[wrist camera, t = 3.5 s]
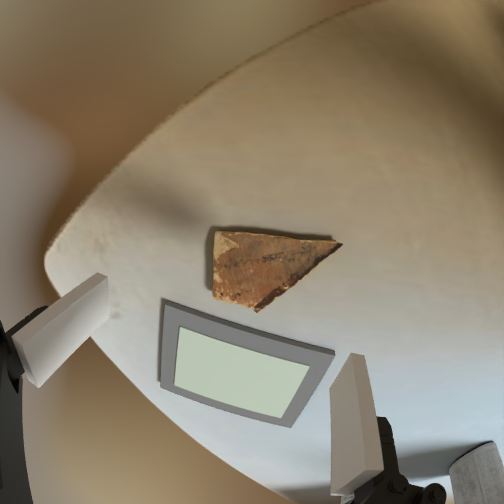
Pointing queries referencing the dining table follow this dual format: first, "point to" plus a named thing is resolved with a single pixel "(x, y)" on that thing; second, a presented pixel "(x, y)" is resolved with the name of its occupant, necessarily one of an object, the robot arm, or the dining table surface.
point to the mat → (238, 366)
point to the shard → (262, 265)
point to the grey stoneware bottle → (478, 477)
